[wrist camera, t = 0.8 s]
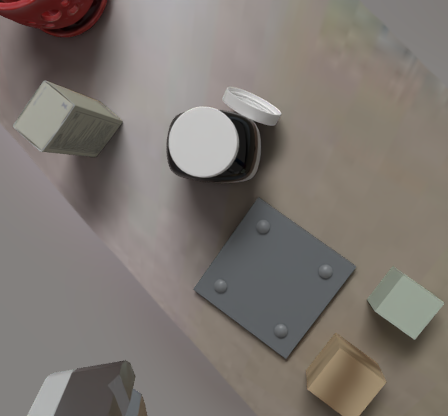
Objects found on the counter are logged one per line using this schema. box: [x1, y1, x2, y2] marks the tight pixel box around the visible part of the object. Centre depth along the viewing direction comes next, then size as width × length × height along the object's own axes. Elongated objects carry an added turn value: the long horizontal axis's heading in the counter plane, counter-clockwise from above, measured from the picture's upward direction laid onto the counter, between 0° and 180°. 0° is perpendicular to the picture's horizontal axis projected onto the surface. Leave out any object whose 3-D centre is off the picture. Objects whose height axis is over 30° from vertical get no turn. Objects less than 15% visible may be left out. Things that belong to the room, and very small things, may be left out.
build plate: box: [193, 197, 356, 359], centre depth 51 cm, size 14×14×1 cm
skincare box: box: [13, 81, 122, 157], centre depth 48 cm, size 6×4×12 cm
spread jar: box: [167, 87, 281, 183], centre depth 46 cm, size 12×11×12 cm
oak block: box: [306, 333, 386, 416], centre depth 48 cm, size 6×6×5 cm
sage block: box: [367, 266, 444, 340], centre depth 47 cm, size 5×5×5 cm
